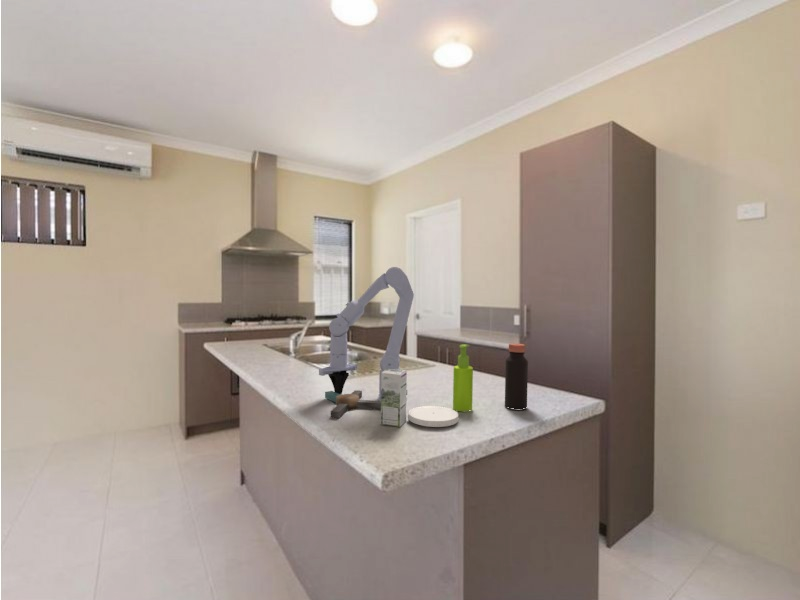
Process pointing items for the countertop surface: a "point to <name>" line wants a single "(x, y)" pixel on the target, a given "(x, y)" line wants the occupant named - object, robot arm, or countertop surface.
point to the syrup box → (393, 397)
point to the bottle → (516, 377)
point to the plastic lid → (433, 416)
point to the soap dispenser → (463, 382)
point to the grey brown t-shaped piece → (352, 404)
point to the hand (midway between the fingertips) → (338, 393)
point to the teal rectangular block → (331, 395)
